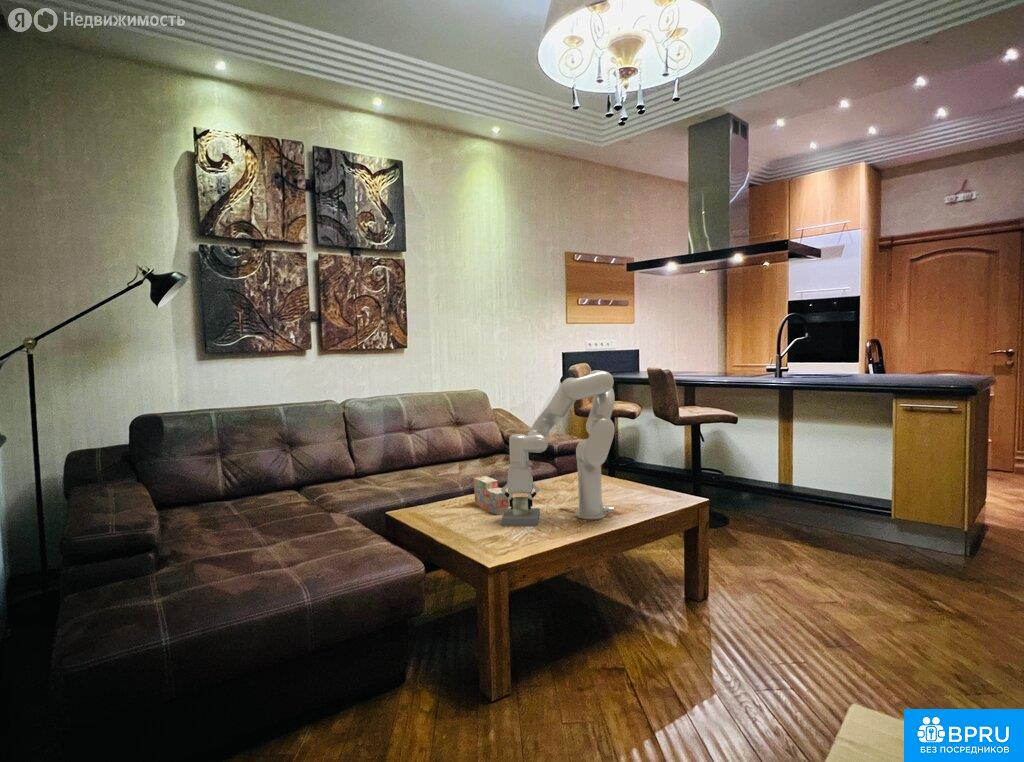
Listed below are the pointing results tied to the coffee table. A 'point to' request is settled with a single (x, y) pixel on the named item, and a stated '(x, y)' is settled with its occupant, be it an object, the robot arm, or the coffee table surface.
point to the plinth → (521, 518)
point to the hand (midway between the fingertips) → (521, 508)
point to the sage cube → (520, 506)
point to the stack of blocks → (490, 495)
